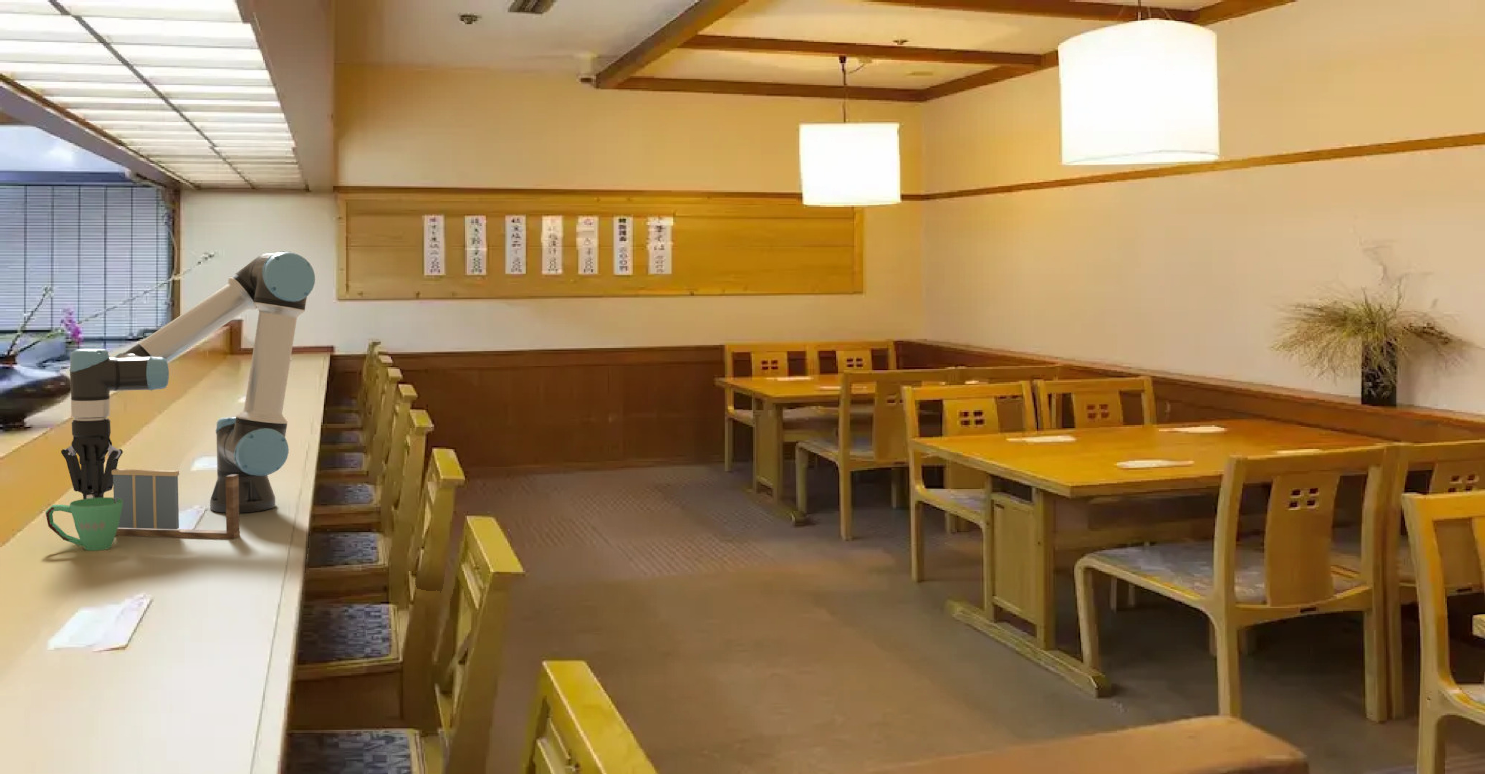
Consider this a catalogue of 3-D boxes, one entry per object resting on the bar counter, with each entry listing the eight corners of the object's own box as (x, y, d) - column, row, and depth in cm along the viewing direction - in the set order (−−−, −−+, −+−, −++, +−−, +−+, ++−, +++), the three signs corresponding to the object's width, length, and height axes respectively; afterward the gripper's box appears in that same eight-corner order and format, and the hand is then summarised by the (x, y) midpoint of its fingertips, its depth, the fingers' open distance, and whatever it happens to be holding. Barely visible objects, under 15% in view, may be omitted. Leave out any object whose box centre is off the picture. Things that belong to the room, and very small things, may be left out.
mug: (129, 542, 252) (128, 496, 251) (116, 552, 243) (115, 505, 242) (54, 544, 249) (53, 498, 248) (38, 555, 239) (37, 507, 238)
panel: (180, 528, 260) (179, 470, 259) (176, 529, 258) (175, 471, 257) (117, 526, 260) (115, 469, 259) (113, 527, 259) (111, 470, 258)
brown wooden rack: (239, 536, 260) (238, 474, 259) (234, 538, 258) (233, 476, 256) (104, 532, 261) (102, 470, 260) (97, 535, 258) (95, 472, 257)
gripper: (129, 417, 262) (131, 520, 264) (72, 415, 262) (75, 518, 264) (109, 421, 254) (112, 527, 256) (51, 419, 255) (55, 525, 257)
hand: (94, 522), depth 260 cm, fingers closed
